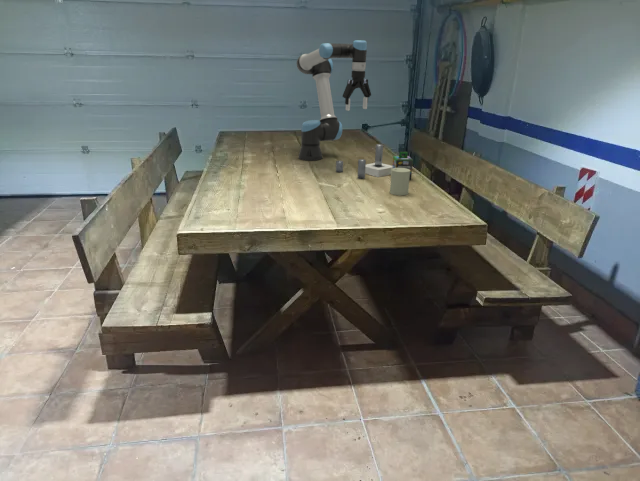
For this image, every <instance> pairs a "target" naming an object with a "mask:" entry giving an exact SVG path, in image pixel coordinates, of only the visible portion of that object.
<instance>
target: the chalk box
mask: <svg viewBox="0 0 640 481" xmlns="http://www.w3.org/2000/svg"><path fill="white" fill-rule="evenodd" d="M408 154H409V152H408V151H399V155H394V156H392V166H393V167H392V169H393V168H407V169H409V170H410V177H409V181H411V180H412V174H413V173H412V172H413V161H414V160H413V158H412V157H411V156H409V155H408Z"/></svg>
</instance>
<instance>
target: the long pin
mask: <svg viewBox="0 0 640 481" xmlns="http://www.w3.org/2000/svg"><path fill="white" fill-rule="evenodd" d="M374 153H375V157H374V163H375V167H378V168H379V167H382V163H383V155H384V154H383V153H384V144H381V143H378V144H377V143H376V144H375V152H374Z"/></svg>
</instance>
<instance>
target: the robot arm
mask: <svg viewBox="0 0 640 481" xmlns="http://www.w3.org/2000/svg"><path fill="white" fill-rule="evenodd" d="M352 42H353V43H331V42H326V43H325V42H324V43H321V44H320V45H319V48H317V49H316V50H315V49H314V50H313V51H311V52H309V53H303V54H301V55H300V56H299V57H297V60H296V68H297V70H298V71H299V72H300V73H301V74H305V75H311V76H312V79H313V80H314V81H315V86H316V92H317V100H318V106H319V112H320V119H311V120H310V119H309V120H305V121H304V122H302V124H301V130H300V131H301V142H300V143H301V147H300V150H299V152H298V159H300V160H301V161H309V162H310V161H311V162H312V161H320V160H323V154H322V149H321V142H326V141H332V142H333V141H336V140H339V139H340V138H341V136H342V134H343V124H342V122H341V121H339V120H338V117H337V116H336V115H335V110H334V103H333V96H332V91H331V90H332V89H331V84H330V83H331V82H330V77H331V74H333V70H334V69H333V68H334V63H333V59H352V60H351V62H352V63H351V69H352V70H351V76H350V77H351V78H352V79H347V82H346V86H345V89H344V91H343V94H342V98H344V99H345V100H344V101H345V102H344V105H345V111H347V112H348V111H350V110H351V96H352V94H353V93H354V91H355V89H360V90H361V92H362V94H363V99H362V109H364V110H367V109H368V102H369V98H370V97H371V96H372V93H371V92H372V91H371V88H370V85H369V79H368V78H367V79H366V71H365V70H366V65H367V64H366V63H367V52H368V51H367V50H368V46H367V45H368V43H367V41H366V40H360V39H359V40H356V39H355V40H354V41H352Z"/></svg>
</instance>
